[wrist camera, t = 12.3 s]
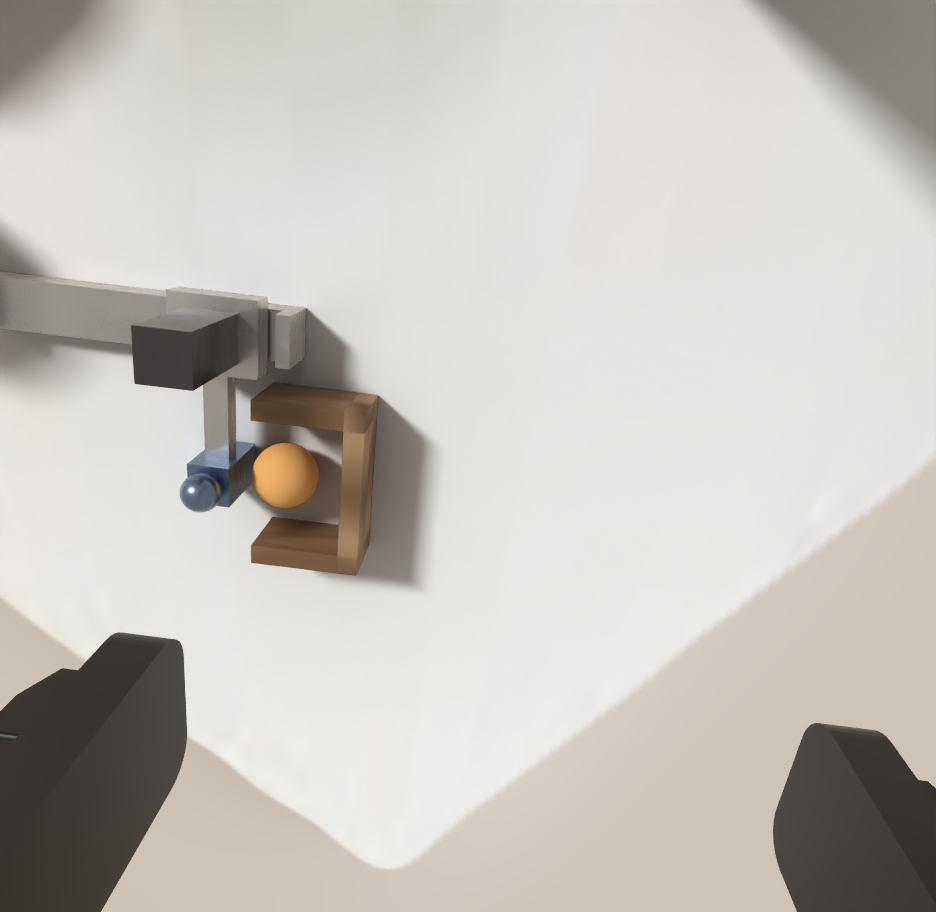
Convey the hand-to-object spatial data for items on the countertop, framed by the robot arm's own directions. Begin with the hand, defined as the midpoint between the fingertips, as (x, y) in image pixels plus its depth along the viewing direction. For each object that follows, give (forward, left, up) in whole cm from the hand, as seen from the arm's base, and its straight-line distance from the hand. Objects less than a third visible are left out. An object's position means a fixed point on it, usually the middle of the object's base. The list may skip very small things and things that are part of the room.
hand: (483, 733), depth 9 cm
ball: (+11, -12, -31) cm, 35 cm away
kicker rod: (+6, -16, -33) cm, 37 cm away
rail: (+2, -21, -33) cm, 39 cm away
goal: (+11, -10, -33) cm, 36 cm away
